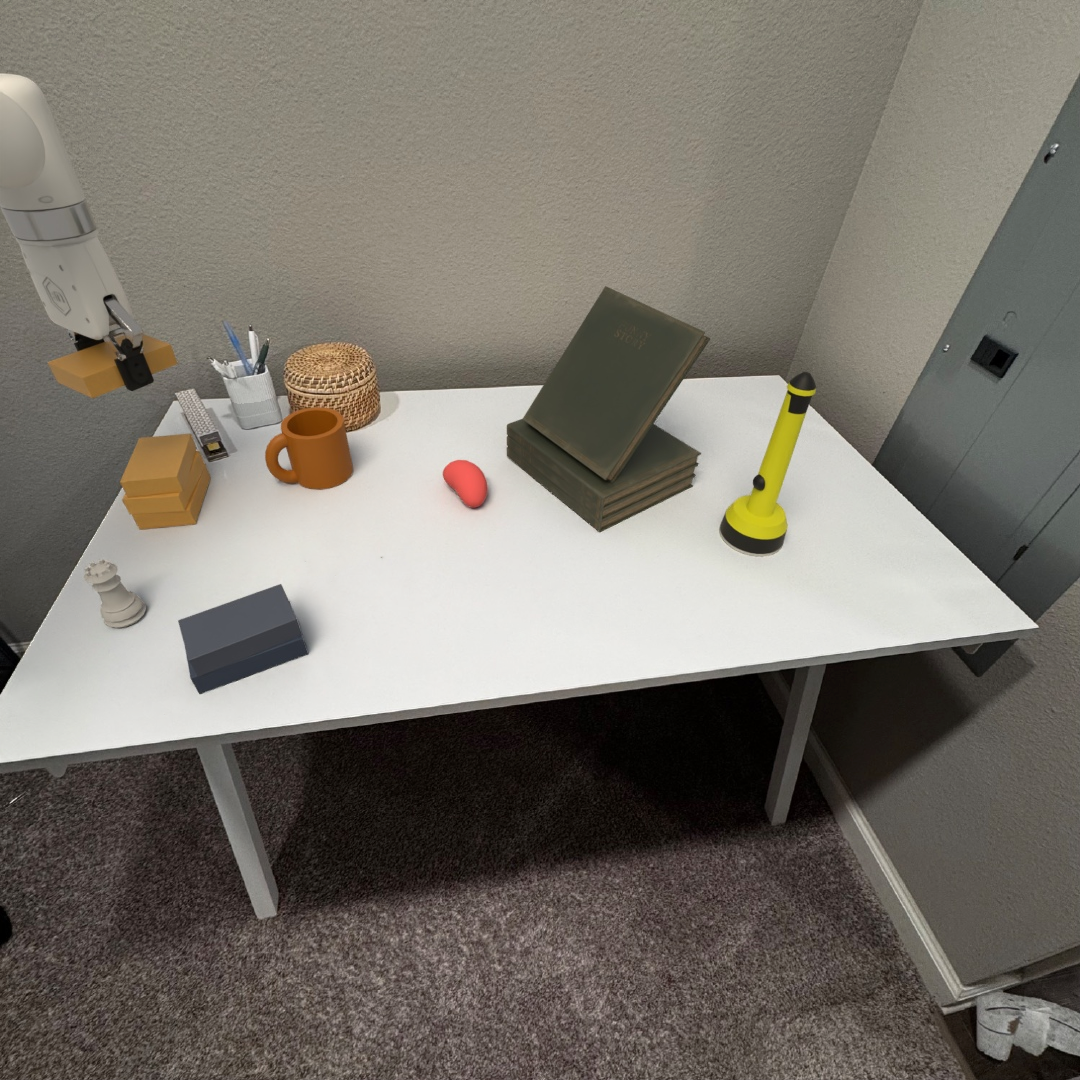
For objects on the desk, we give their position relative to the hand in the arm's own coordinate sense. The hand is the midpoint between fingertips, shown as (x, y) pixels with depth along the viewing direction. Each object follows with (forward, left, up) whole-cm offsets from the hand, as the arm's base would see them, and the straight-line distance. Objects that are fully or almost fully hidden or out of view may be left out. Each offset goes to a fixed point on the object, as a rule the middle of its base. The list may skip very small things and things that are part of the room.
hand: (120, 376), depth 77 cm
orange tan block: (0, 0, +1) cm, 1 cm away
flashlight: (+70, -44, -20) cm, 85 cm away
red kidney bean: (+38, -17, -20) cm, 46 cm away
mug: (+19, -2, -20) cm, 28 cm away
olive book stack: (+59, -21, -20) cm, 66 cm away
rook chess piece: (-8, -20, -20) cm, 29 cm away
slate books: (+4, -33, -20) cm, 39 cm away
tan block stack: (0, 0, -20) cm, 20 cm away
